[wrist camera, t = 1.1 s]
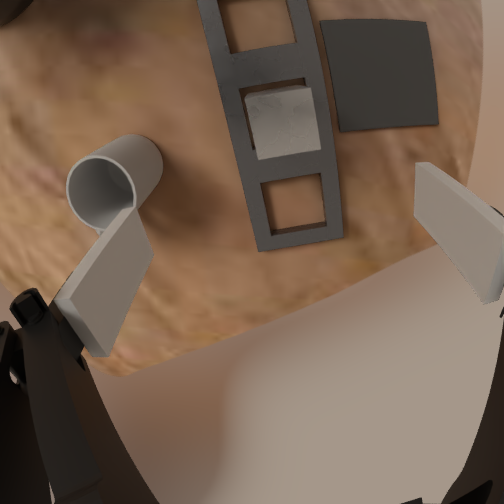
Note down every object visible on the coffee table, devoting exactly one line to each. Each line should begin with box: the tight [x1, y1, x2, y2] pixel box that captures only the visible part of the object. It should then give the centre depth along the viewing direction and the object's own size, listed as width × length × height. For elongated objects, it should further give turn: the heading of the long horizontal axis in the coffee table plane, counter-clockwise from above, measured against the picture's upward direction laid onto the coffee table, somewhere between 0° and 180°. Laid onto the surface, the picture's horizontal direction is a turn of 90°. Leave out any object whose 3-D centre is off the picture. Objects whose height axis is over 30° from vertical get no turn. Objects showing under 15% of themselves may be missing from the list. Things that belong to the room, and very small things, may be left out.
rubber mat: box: [319, 19, 439, 132], centre depth 25 cm, size 12×12×1 cm
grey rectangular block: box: [245, 85, 321, 160], centre depth 25 cm, size 5×5×8 cm
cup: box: [66, 134, 163, 236], centre depth 29 cm, size 7×10×9 cm
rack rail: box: [197, 0, 344, 252], centre depth 28 cm, size 30×10×1 cm, turn 12°
